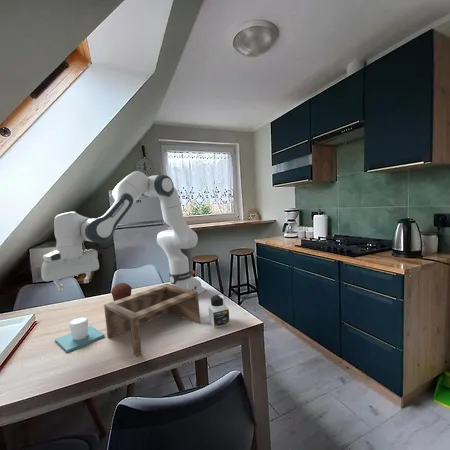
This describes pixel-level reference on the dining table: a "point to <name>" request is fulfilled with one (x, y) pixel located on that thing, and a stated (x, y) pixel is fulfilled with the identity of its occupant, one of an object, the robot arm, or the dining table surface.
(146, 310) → the box
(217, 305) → the medicine bottle
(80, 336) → the shot glass
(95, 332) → the mat
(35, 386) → the dining table surface
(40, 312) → the dining table surface
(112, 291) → the muffin
